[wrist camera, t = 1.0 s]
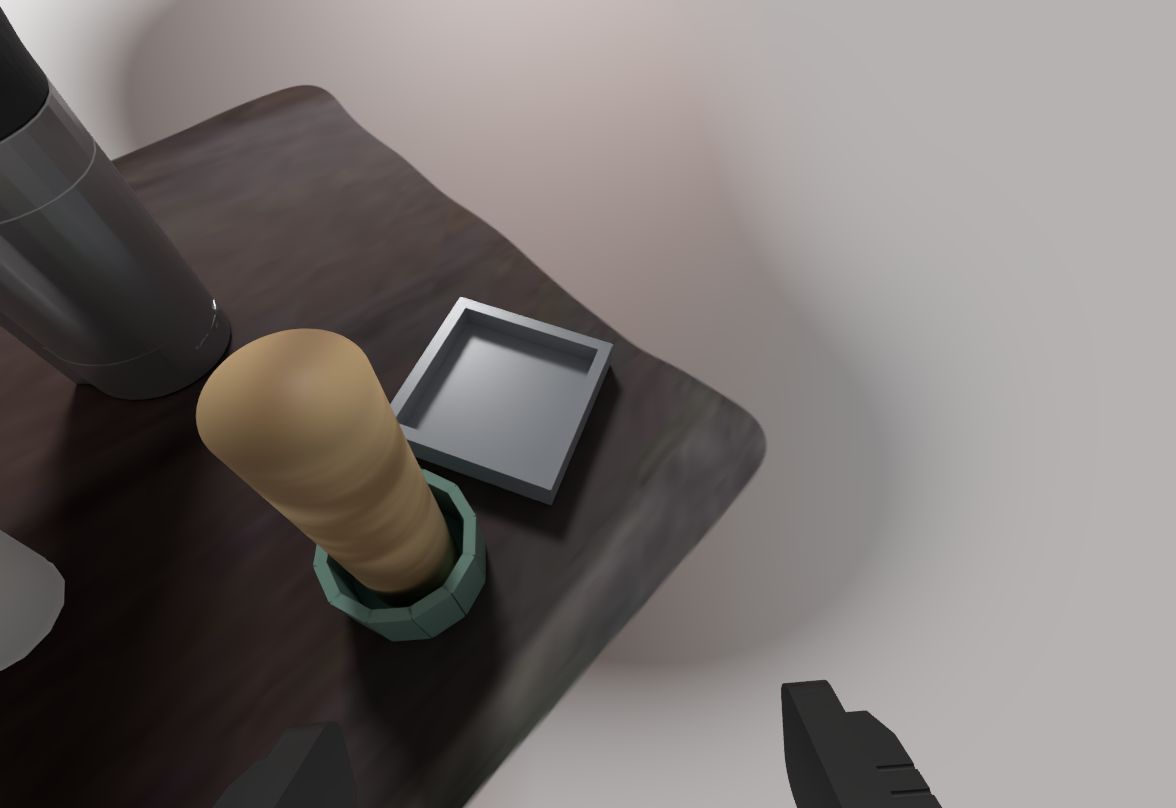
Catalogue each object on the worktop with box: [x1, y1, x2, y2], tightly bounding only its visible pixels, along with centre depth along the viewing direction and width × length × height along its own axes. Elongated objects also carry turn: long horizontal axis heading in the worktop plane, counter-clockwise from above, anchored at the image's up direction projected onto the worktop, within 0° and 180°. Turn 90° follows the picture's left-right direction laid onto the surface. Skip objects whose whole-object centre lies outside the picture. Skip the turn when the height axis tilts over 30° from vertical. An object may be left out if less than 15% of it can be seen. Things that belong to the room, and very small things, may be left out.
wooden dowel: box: [196, 329, 460, 608], centre depth 24 cm, size 5×5×18 cm
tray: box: [390, 297, 613, 505], centre depth 38 cm, size 12×12×2 cm
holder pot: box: [313, 469, 486, 642], centre depth 30 cm, size 8×8×5 cm
